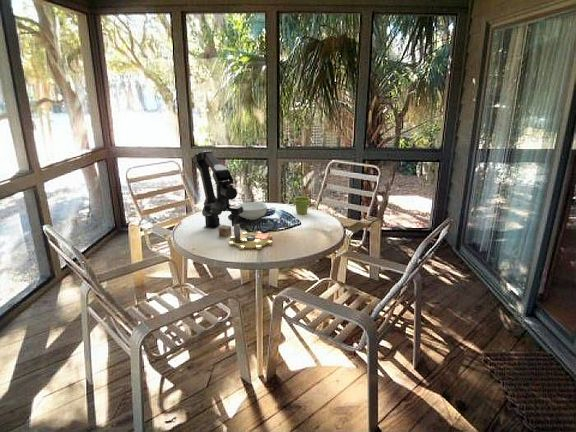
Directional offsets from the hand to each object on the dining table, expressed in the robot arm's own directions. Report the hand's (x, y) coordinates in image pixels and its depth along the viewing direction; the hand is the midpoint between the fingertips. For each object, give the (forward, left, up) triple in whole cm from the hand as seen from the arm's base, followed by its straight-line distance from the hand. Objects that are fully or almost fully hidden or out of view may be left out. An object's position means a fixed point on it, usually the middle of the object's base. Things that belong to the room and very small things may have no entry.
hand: (224, 225), depth 193 cm
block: (0, 0, -5) cm, 5 cm away
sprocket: (+16, -4, -5) cm, 17 cm away
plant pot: (+25, +47, -5) cm, 54 cm away
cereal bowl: (+1, +30, -5) cm, 30 cm away
